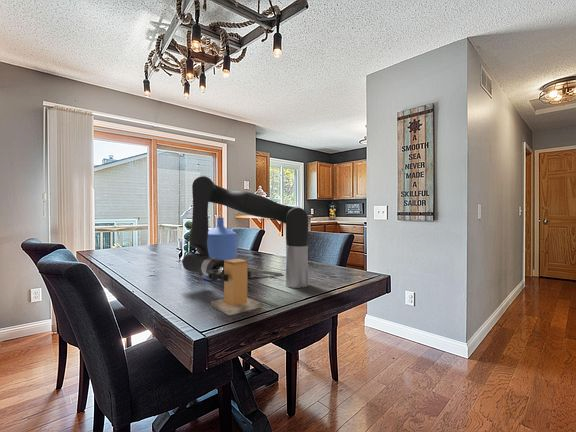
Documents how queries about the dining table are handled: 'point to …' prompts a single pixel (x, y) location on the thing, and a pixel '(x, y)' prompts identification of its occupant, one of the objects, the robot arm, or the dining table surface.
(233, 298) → the orange tall block
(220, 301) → the stub plate
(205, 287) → the dining table surface
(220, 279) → the robot arm
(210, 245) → the water jug
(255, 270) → the caliper
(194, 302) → the dining table surface
